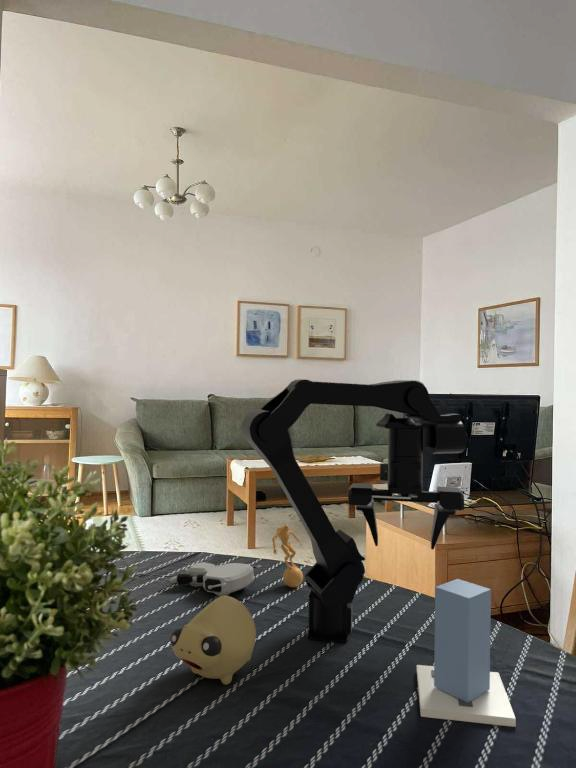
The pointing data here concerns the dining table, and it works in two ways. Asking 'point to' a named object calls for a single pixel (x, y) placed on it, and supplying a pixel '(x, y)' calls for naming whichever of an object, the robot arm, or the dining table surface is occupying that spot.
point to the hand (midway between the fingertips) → (404, 547)
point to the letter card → (479, 710)
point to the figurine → (292, 573)
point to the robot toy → (217, 577)
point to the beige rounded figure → (217, 639)
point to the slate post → (462, 639)
